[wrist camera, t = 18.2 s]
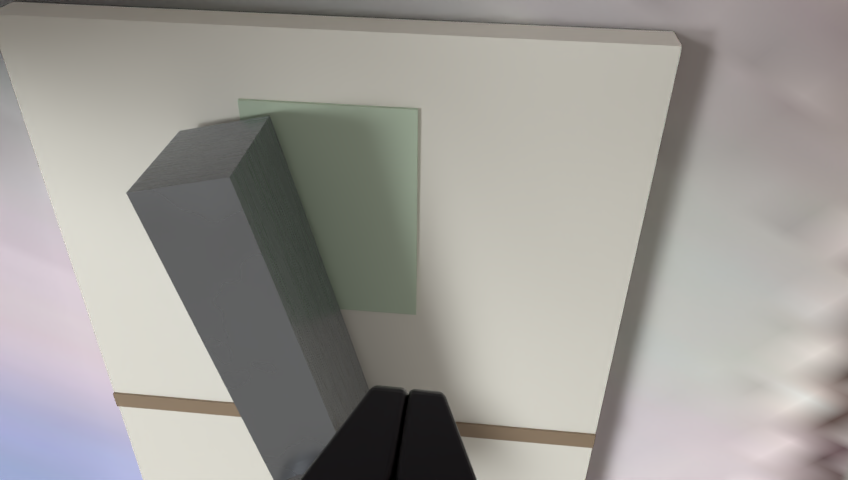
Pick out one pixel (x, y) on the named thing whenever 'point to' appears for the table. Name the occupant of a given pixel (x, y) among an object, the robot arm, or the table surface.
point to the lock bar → (253, 285)
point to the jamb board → (364, 206)
